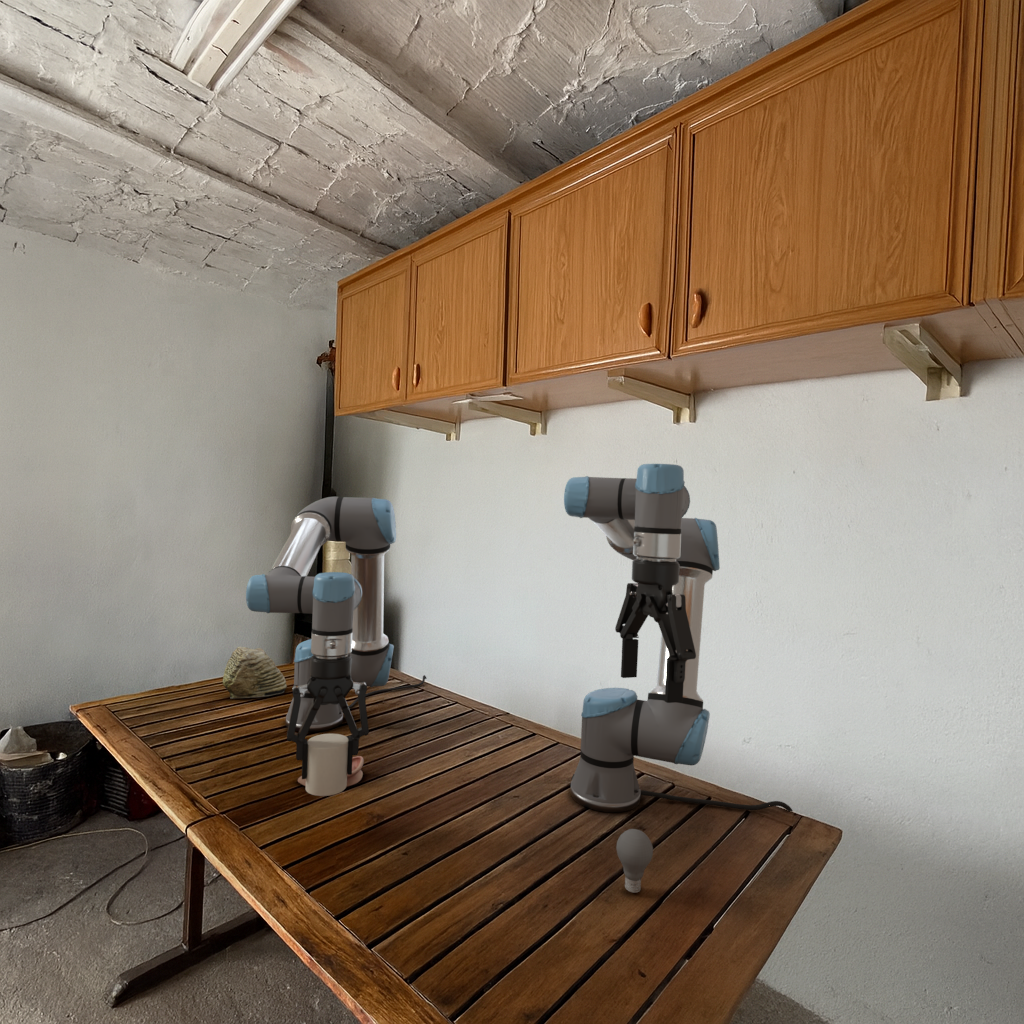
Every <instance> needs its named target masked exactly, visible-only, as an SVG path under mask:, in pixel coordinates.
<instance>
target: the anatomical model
mask: <svg viewBox="0 0 1024 1024" xmlns="http://www.w3.org/2000/svg"><path fill="white" fill-rule="evenodd" d="M363 766H364V757H363V756H361V755H355V756H352V774H351V775H348V773H347V786H346V788H347V787H350V786H353V785H356V784H358V783H359V782H360V781H361V780H362V779H363V775H364V773H363V771H362V768H363ZM297 782H298V784H300V785H302V786H304V787H306V779H302V775H300V776H299V777H298V778H297Z"/></svg>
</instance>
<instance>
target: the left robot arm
mask: <svg viewBox="0 0 1024 1024" xmlns="http://www.w3.org/2000/svg"><path fill="white" fill-rule="evenodd" d="M396 524H397V523H396V515H395V509H394V505H393V503H392V502H391V501H390V500H389V499H386V498H376V497H356V496H355V497H354V496H353V497H351V496H350V497H349V496H328V497H324V498H321V499H318V500H316V501H314V502H311V503H310V504H309V505H307V506H305V507H304V508H303V509H301V510H300V511H299V512H298V513H297V514H296V515H295V516H294V518H293V520H292V522H291V524H290V534H289V536H288V538H287V540H286V541H285V543H284V545H283V547H282V548H281V550H280V552H279V554H278V555H277V557H276V559H275V561H274V563H273V565H272V566H271V568H270V569H269V571H268V573H267V574H265V573H262V574H255V575H252V576H250V578H249V579H248V582H247V585H246V590H245V601H246V606H247V608H248V609H249V610H250V611H251V612H254V613H255V612H256V613H266V614H272V613H273V614H312V617H311V618H312V620H311V621H312V622H311V638H310V639H307V640H304V641H302V642H300V643H298V645H296V648H295V654H294V660H293V662H294V672H293V673H294V674H293V686H292V699H291V702H290V704H289V708H288V711H287V713H286V715H285V726H286V728H287V731H286V741H287V742H293V743H295V746H296V749H295V758H296V761H301V776H302V779H306V770H307V741H308V738H306V737H307V736H308V733H316V732H325V731H329V730H332V729H335V728H337V727H339V726H340V725H342V723H343V722H344V719H345V721H346V724H347V726H348V729H349V731H350V734H351V735H347V738H348V766H347V773H348V775H351V774H352V757H354V756H359V755H358V754H359V745H360V739H361V738H362V737H363V736H368V735H369V734H370V727H369V720H368V710H367V703H366V698H367V697H368V696H371V695H375V694H379V693H384V692H392V691H398V690H399V691H400V690H406V689H411V688H416V687H420V686H422V685H423V684H424V683H425V680H427V676H426V675H425V674H424V675H422V680H421V681H420V682H419V683H416V684H415V683H414V684H411V685H410V684H409V685H402V686H398V687H390V688H381V689H378V690H372V691H369V692H367V690H368V687H369V688H373V687H384V686H385V685H387V684H388V682H389V678H390V672H391V665H392V660H393V654H394V648H395V645H394V644H392V643H389V642H390V641H389V637H388V635H386V634H385V633H384V607H385V606H384V605H385V604H384V602H385V601H384V599H385V594H384V593H385V554H386V553H388V552H389V551H390V550H391V545H393V544H394V543H396V541H397V525H396ZM327 542H342V543H343V542H344V543H345V551H347V552H348V553H349V554H350V555H351V556H350V557H351V558H350V559H351V560H350V561H351V566H350V567H351V568H350V569H351V573H349V572H343V571H327V572H319V573H317V574H316V575H315V576H309V572H310V570H311V568H312V566H313V565H314V562H315V559H316V558H317V555H318V553H319V551H320V549H321V547H322V546H323V545H324V544H326V543H327ZM352 689H353V690H354V693H355V695H356V696H357V698H356V699H354V701H353V702H352V703H351V704H349V705H348V702H347V699H346V697H347V696H348V694H349V693H350V691H352ZM357 703H358V704H357ZM356 704H357V705H358V711H359V720H360V727H357V724H356V722H355V720H354V717H353V714H352V712H351V710H350V709H351V708H353V707H354V706H355V705H356Z"/></svg>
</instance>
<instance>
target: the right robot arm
mask: <svg viewBox="0 0 1024 1024" xmlns="http://www.w3.org/2000/svg"><path fill="white" fill-rule="evenodd" d="M636 471H637V472H636V478H635V477H634V478H630V477H629V478H628V477H627V478H626V477H623V478H622V477H602V476H601V477H599V476H588V475H586V476H573V477H570V478H569V479H568V480H567V482H566V484H565V487H564V493H563V504H564V505H563V506H564V510H565V513H566V514H567V516H569V517H573V518H579V519H583V518H587V519H589V520H590V521H591V522H592V523H593V524H594V525H595V526H596V527H597V528H598V529H599V530H600V531H601V532H602V533H603V534H604V535H605V537H606V541H607V543H608V544H609V546H610V547H611V548H612V550H614V551H615V552H616V553H618V554H619V555H621V556H623V557H625V558H627V559H629V560H631V581H632V582H628V583H626V588H625V589H626V590H625V597H624V599H623V603H622V606H621V609H620V611H619V615H618V618H617V622H616V624H615V629H614V630H615V632H616V633H619V637H620V638H621V639H622V642H621V661H620V662H621V664H620V665H621V666H620V678H622V679H631V678H638V661H639V660H638V658H639V656H638V655H639V638H640V636H639V632H640V630H641V629H642V627H643V625H644V623H645V622H646V620H647V618H648V617H650V618H652V619H653V621H654V622H656V623H657V625H658V627H659V631H660V642H659V653H658V661H657V671H656V672H657V673H656V682H655V683H656V684H655V686H654V687H652V688H651V689H650V690H649V691H648V693H647V699H646V700H644V699H642V700H641V699H639V698H638V695H637V692H636V691H635V690H633V689H629V688H625V687H604V688H599V689H595V690H592V691H589V692H588V693H587V694H586V695H585V697H584V698H583V703H582V712H581V715H580V716H581V732H580V733H581V734H580V754H579V762H578V763H577V765H576V768H575V771H574V773H573V774H572V776H571V781H570V791H569V792H570V796H571V798H572V799H573V801H575V802H576V803H578V804H579V805H581V806H583V807H584V808H588V809H590V810H592V811H593V810H594V811H596V812H597V811H598V812H603V813H622V812H627V811H631V810H633V809H635V808H637V807H638V806H639V805H640V802H641V796H645V797H652V798H659V799H663V800H670V801H674V802H680V803H689V804H698V805H706V806H715V807H722V808H727V809H736V810H745V811H760V810H764V809H768V808H771V807H772V808H773V807H781V808H783V809H785V810H786V811H787V812H793V811H794V810H793V809H792V807H791V806H790V805H789V804H787V803H785V802H783V801H781V800H780V801H779V800H773V801H767V802H764V803H760V804H743V803H742V804H741V803H733V802H726V801H719V800H714V799H713V800H712V799H704V798H694V797H686V796H680V795H679V796H678V795H673V794H667V793H662V792H657V791H649V790H644V789H641V787H640V784H639V781H638V776H637V773H636V769H635V765H634V756H635V757H640V758H644V759H651V760H654V761H655V760H656V761H662V762H665V763H671V764H674V765H685V766H696V765H698V764H699V763H700V761H701V759H702V755H703V751H704V747H705V744H706V740H707V734H708V729H709V721H710V715H711V714H710V713H711V712H710V710H708V709H706V708H704V699H703V698H702V697H701V696H700V694H699V693H698V682H699V681H698V680H699V668H700V667H699V666H700V654H701V653H700V651H701V641H702V640H701V639H702V625H703V613H704V600H705V587H706V586H705V585H706V584H707V583H708V582H709V581H711V580H712V579H713V573H714V572H717V571H720V568H721V567H720V551H719V539H718V538H719V537H718V529H717V524H716V523H715V521H713V520H712V519H705V518H697V517H694V518H692V517H684V516H685V515H686V514H687V512H688V511H689V509H690V505H691V497H690V493H689V490H688V489H687V487H686V486H685V483H686V482H685V478H684V477H685V476H684V475H685V472H684V468H683V467H682V466H681V465H679V464H673V463H643V464H641V465H639V466H638V467H637V470H636ZM769 805H770V806H769Z"/></svg>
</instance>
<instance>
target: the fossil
mask: <svg viewBox="0 0 1024 1024" xmlns="http://www.w3.org/2000/svg"><path fill="white" fill-rule="evenodd" d="M222 676H223V677H222V685H223V687H224V688H225V690H226V691H228V693H229V698H230V699H250V698H264V697H271V696H275V695H281V694H284V693H285V691H286V689H287V687H288V686H287V680H286V678H285V676H284V674H283V673H282V672H281V669H279V668H278V667H277V665H276V663H275V662H274V660H273V659H272V658H271V657H270V656H269V655H268V654H267V653H266V652H265V650H264V649H263V648H260V647H258V648H251V647H247V646H246V647H245V646H238V647H237V648H236V649H235V650H233V651H232V653H231V656H230V657H229V659H228V660H227V663H226V666H225V668H224V671H223V675H222Z"/></svg>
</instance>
